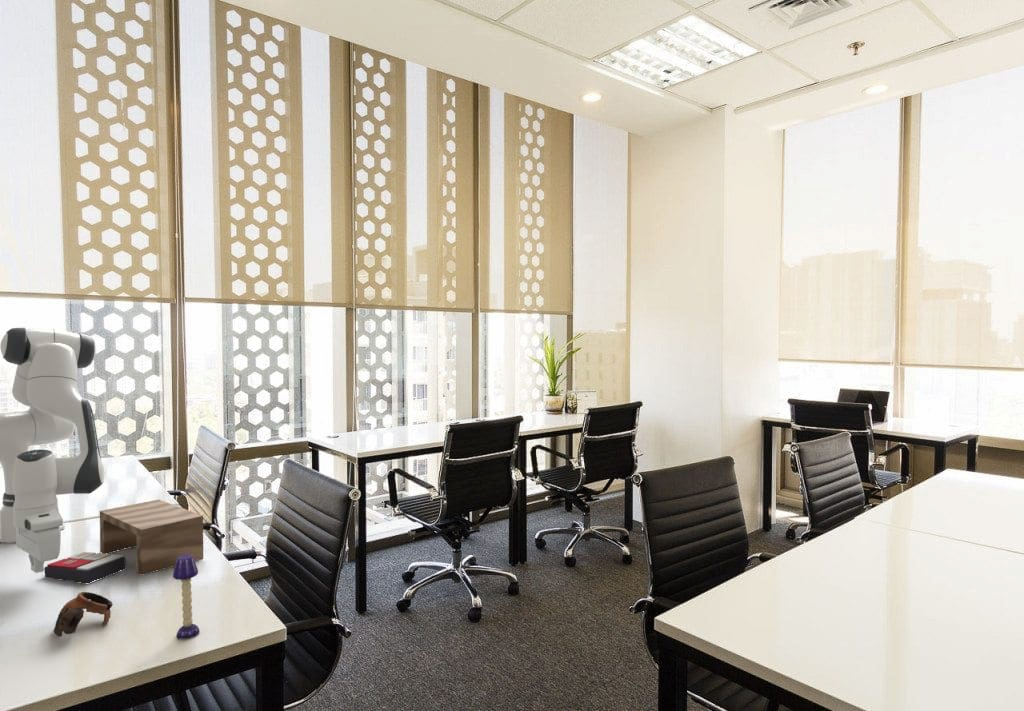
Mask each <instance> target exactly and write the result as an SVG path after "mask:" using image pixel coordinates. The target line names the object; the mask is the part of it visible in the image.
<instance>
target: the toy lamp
mask: <svg viewBox="0 0 1024 711" xmlns="http://www.w3.org/2000/svg"><path fill="white" fill-rule="evenodd" d="M198 574H199V569H198V566H197V563H196V560H194V557H193V556H192V555H190V554H187V555H182V556H179V557H178V558H177V561H176V564H175V566H174V569H173V574H172V577H173V578H172V579H174V580H177V581H181V583H182V584H181V590H182V592H181V597H182V600H181V602H182V607H181V609H182V620H183V621H182V626H180V628H179V629H178V630H177V632H176V638H178V639H179V640H186V639H187V638H188V639H192V638H193V637H196V636H197V635H199V634H200V632H201V631H200V627H199V626H198V625H197V624H195V623H193V618H192V617H193V611H192V610H193V605H192V602H193V598H192V583H191V581H192V578H194V577H196V576H197V575H198ZM191 637H192V638H191ZM188 639H187V640H188Z"/></svg>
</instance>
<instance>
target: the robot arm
mask: <svg viewBox="0 0 1024 711" xmlns="http://www.w3.org/2000/svg"><path fill="white" fill-rule="evenodd" d="M0 352H1V356H2V358H3V359H4V360H5V361H6V362H7V363H10V364H14V365H17V366H16V370H15V373H14V374H15V376H14V380H13V385H12V389H11V393H12V396H13V398H14V399H15V401H17V402H18V403H20V404H21V405H23V406H26V407H29V408H28V409H27V410H25V411H13V412H11V411H10V412H3V413H0V465H1V467H2V470H3V477H4V478H3V479H4V493H3V494H2V506H1V509H0V542H1V543H16V544H15V545H16V547H17V548H18V549H20V550H22V551H24V552H25V553H27V554H28V558H29V563H30V570H31V571H32V572H34V573H36V574H37V573H42V572H43V571H45V570H44V568H45V566H44V564H45V562H48V561H49V562H50V561H53V560H57V559H58V558H59V556H60V553H61V539H62V537H61V534H62V533H61V530H64V529H65V528H66V527H65V524H64V518H63V517H62V515H61V513H60V510H59V502H58V501H59V500H58V498H57V496H59V495H68V494H69V495H72V494H76V495H86V494H87V495H88V494H89V495H90V494H92V493H93V492H95V491H96V490H97V489H99V488H101V486H102V485H103V484H104V480H105V474H106V472H105V466H104V464H103V462H102V459H101V452H100V447H99V440H98V436H97V434H98V433H97V428H96V422H95V418H94V417H95V416H94V412H93V408H92V405H91V403H90V401H89V400H88V399H87V398H84V397H82V396H81V394H80V392H79V388H78V378H79V377H78V375H79V374H78V373H79V372H78V370H79V369H84V368H88V367H89V366H91V364H92V362H93V361H94V359H95V357H96V354H97V347H96V342H95V340H94V339H93V338H92V336H90V335H87V334H84V333H75V332H70V331H64V330H59V329H44V328H26V327H13V328H10V329H8V330H7V331H6V332H5V334H4V336H2V339H1V341H0ZM75 429H76V430H77V432H76V433H77V438H78V443H79V450H80V451H79V452H80V454H79V455H77V456H71V457H68V456H67V457H55V454H54V452H53V451H51V450H50V449H44V448H43V449H31V450H29V447H33V446H40V445H42V446H43V445H47V444H54V443H57V442H58V443H59V442H62V441H65V440H68V439H70V438H71V436H72V435H73V434H74V432H75V431H76V430H75Z"/></svg>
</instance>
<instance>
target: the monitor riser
mask: <svg viewBox="0 0 1024 711" xmlns="http://www.w3.org/2000/svg"><path fill="white" fill-rule="evenodd" d="M134 546H136V573H137V574H139V575H140V574H141V576H144V575H143V574H145V575H147V573H148V574H151V573H150V572H152V573H154V572H153V571H155V572H157V571H156V570H159V571H161V570H160V569H162V570H164V569H163V568H166V569H169V568H172V567H171V566H173V567H175V564H176V561H177V558H178V557H179V556H182V555H187V554H190V555H192V556H193V557H194V560H195V561H197V559H198V560H201V559H204V515H202V514H199V513H196V512H194V511H191V510H188V509H186V508H183V507H180V506H178V505H175V504H172V503H169V502H166V501H164V500H161V499H155V500H154V499H153V500H149V501H144V502H140V503H132V504H128V505H124V506H118V507H113V508H108V509H102V510H99V547H100V548H99V553H101V552H102V553H104V554H106V553H108V554H110V553H109V552H112V553H114V552H113V551H116V552H118V551H117V550H120V551H122V550H121V549H124V548H128V549H130V548H129V547H132V548H135V547H134ZM124 550H125V549H124ZM168 567H169V568H168Z"/></svg>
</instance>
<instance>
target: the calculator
mask: <svg viewBox="0 0 1024 711" xmlns="http://www.w3.org/2000/svg"><path fill="white" fill-rule="evenodd" d="M125 568H126V557H125V556H123V555H121V554H120V555H119V554H118V555H117V554H111V553H108V554H104V553H101V552H91V551H90V552H89V551H82V552H79V553H77V554H73V555H71V556H68V557H67V558H62V559H59V560H57V561H54V562H50V563H48V564H46V566H44V570H43V571H44V578H45V577H46V578H45V579H51V578H53V579H54V580H58V579H62V580H61V581H67V580H68V582H74V583H76V582H81V583H80V584H82V583H90V582H92V581H94V580H97V579H100V578H102V579H104V578H103V577H105V578H107V577H109V575H110V576H112V575H114V574H113V573H115V574H117V573H119V572H118V571H120V570H122V571H124V570H123V569H125ZM126 569H127V568H126ZM126 569H125V570H126ZM116 572H117V573H116ZM120 572H121V571H120ZM111 574H112V575H111ZM106 576H107V577H106ZM53 579H52V580H53ZM100 580H101V579H100ZM97 581H98V580H97ZM92 583H93V582H92ZM90 584H91V583H90Z"/></svg>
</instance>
